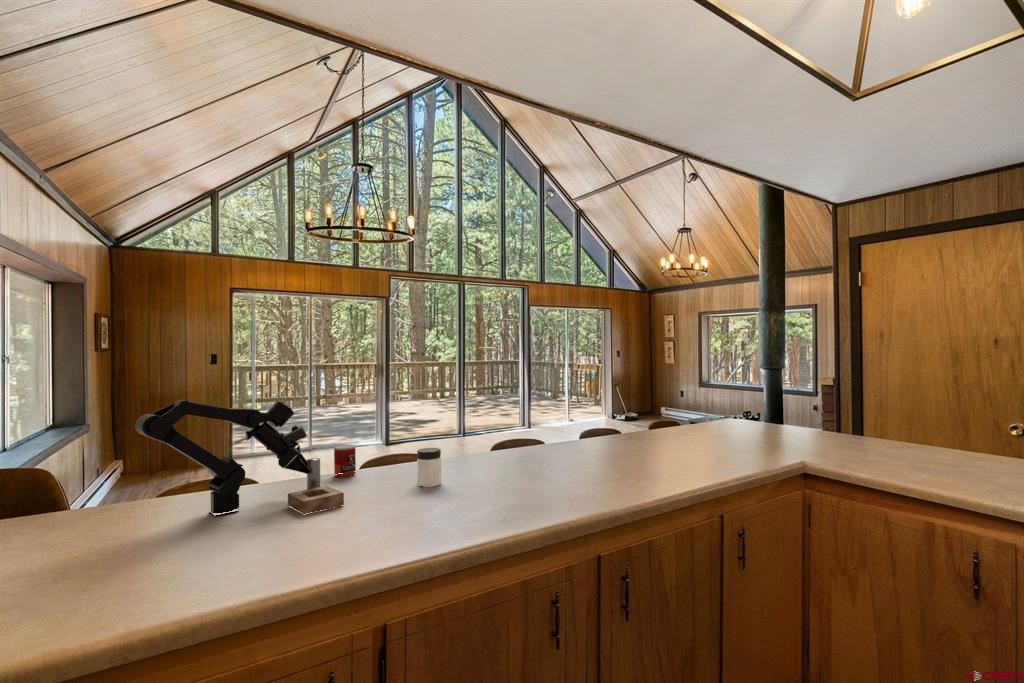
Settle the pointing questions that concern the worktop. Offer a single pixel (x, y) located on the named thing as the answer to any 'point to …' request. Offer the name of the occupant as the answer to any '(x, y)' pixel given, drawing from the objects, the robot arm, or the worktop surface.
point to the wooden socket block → (315, 499)
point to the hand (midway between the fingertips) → (309, 469)
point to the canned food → (344, 460)
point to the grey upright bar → (313, 473)
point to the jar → (429, 467)
